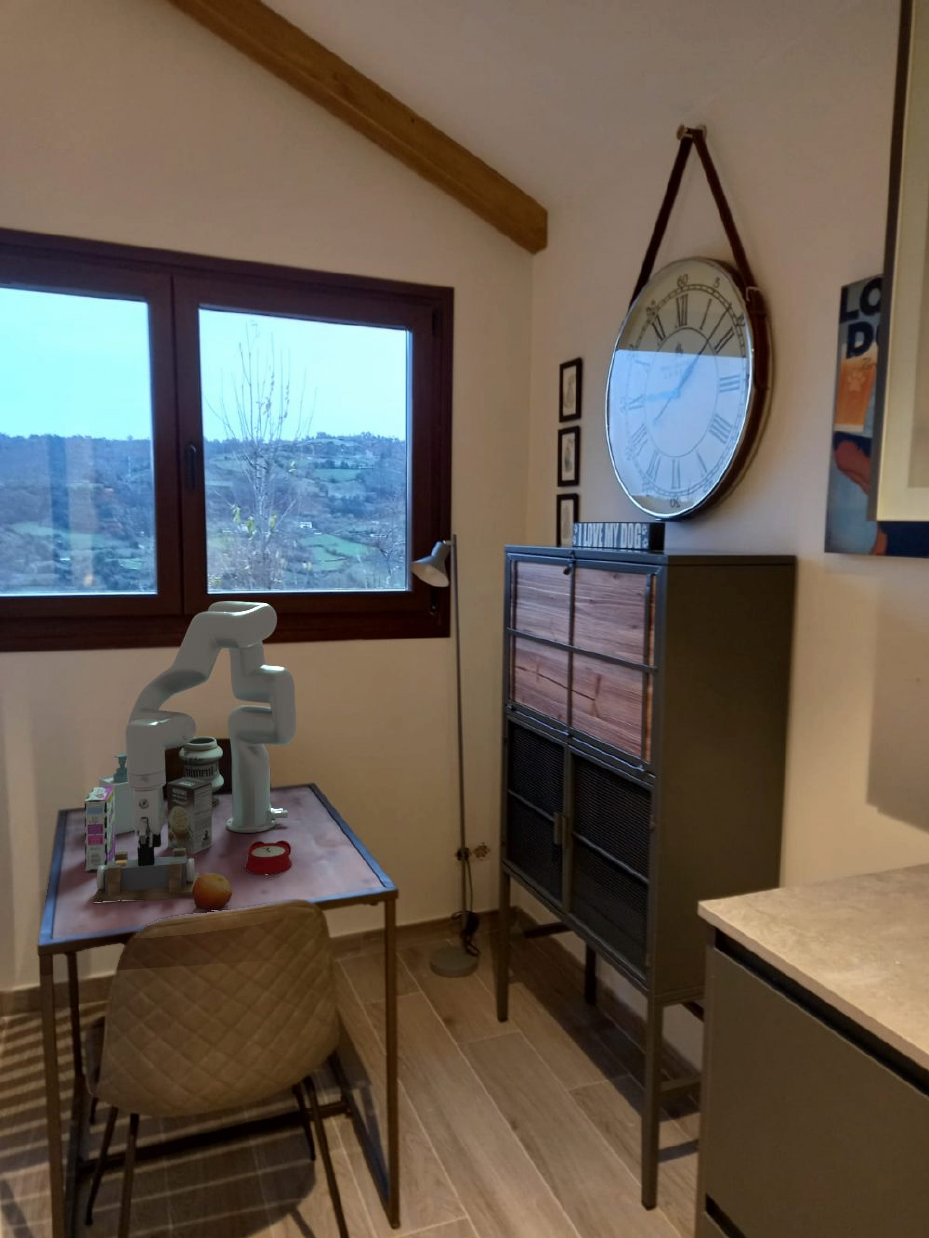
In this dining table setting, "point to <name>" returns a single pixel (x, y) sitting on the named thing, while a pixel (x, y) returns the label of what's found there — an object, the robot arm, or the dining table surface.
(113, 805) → the candy bar box
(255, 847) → the alarm clock
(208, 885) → the fruit
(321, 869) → the dining table surface
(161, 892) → the rack
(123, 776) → the soap bottle
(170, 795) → the coffee box
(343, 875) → the dining table surface
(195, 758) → the apothecary jar
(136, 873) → the power strip
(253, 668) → the robot arm
